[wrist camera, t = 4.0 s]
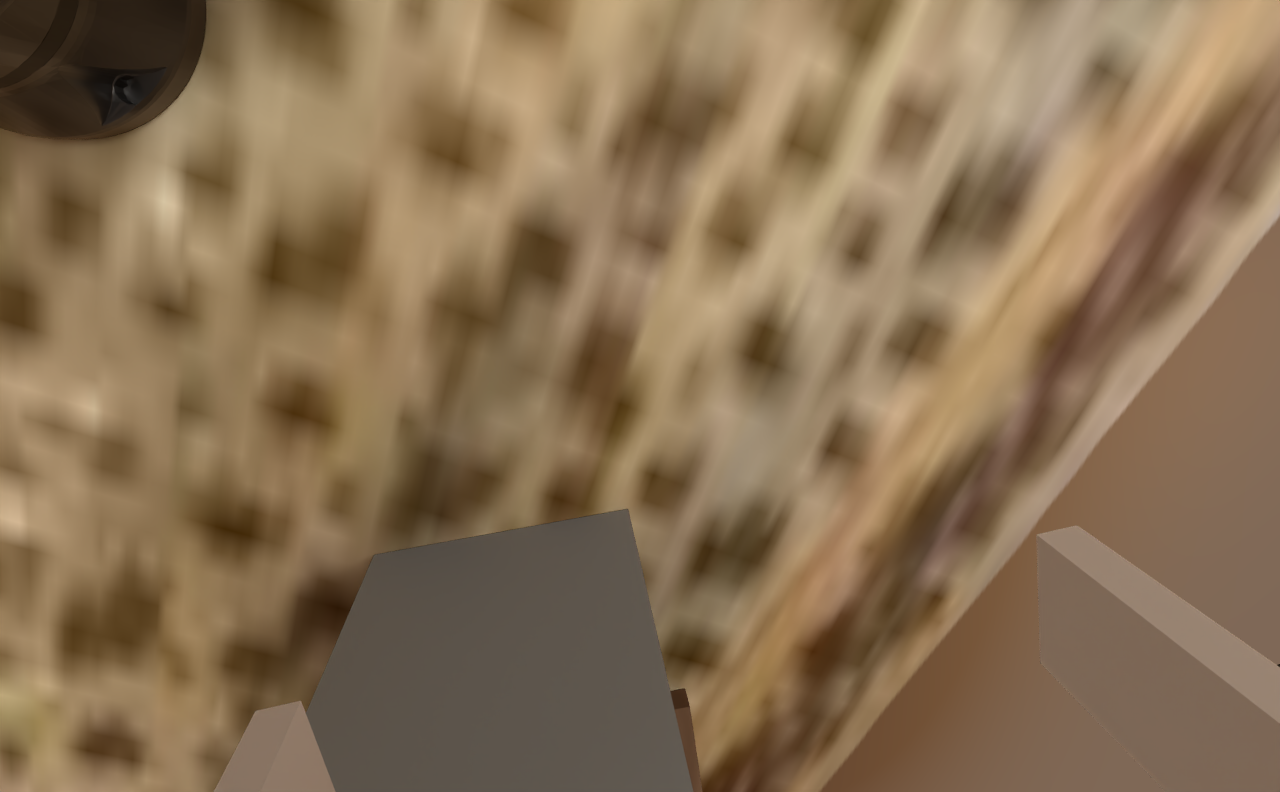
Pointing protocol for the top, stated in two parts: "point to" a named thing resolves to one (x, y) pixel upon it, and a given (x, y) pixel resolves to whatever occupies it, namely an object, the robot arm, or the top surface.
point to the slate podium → (503, 669)
